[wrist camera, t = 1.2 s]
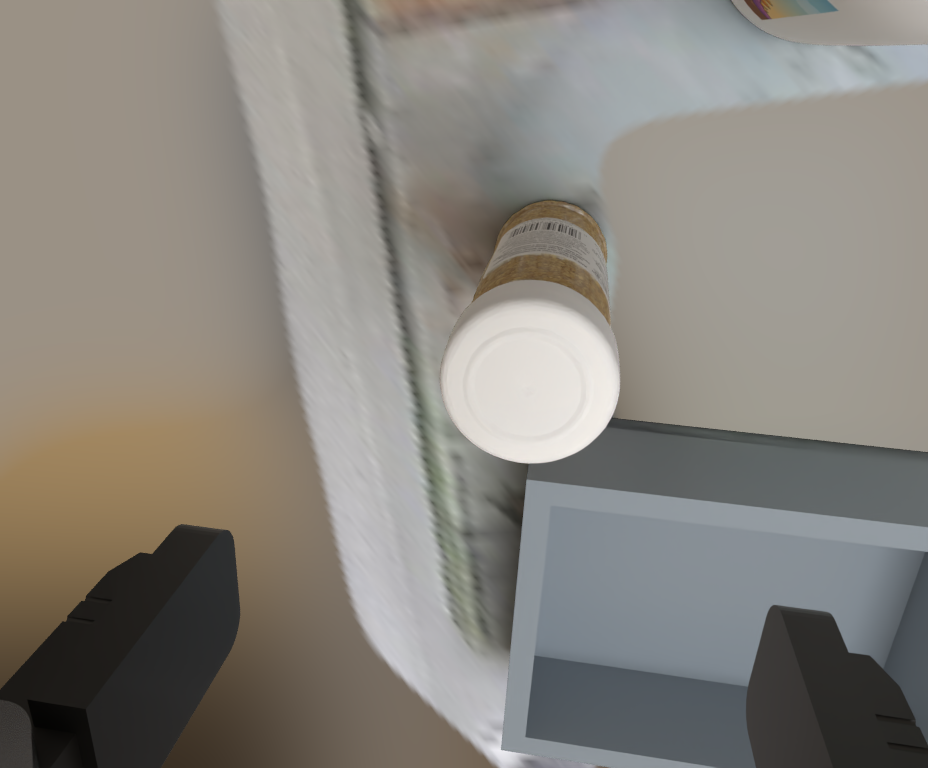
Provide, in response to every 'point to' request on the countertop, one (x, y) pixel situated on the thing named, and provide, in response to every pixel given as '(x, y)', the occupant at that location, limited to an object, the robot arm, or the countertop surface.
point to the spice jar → (536, 341)
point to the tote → (702, 585)
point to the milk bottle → (841, 21)
